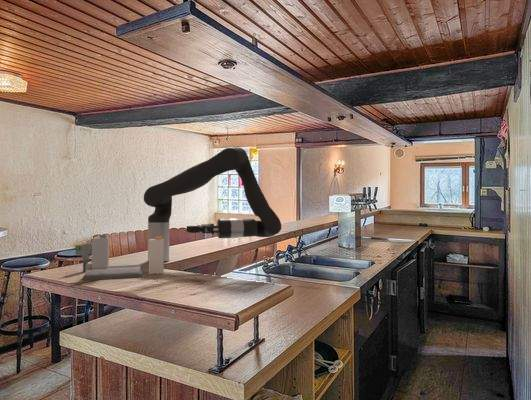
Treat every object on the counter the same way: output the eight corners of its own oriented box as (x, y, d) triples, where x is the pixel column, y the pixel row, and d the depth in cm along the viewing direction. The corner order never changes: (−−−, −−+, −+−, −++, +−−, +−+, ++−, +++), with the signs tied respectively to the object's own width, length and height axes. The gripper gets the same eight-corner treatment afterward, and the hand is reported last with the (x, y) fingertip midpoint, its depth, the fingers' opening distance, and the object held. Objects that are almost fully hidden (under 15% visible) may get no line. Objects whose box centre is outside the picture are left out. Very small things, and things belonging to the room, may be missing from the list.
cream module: (148, 271, 140) (149, 236, 141) (163, 271, 142) (163, 236, 142) (149, 273, 136) (149, 237, 137) (163, 273, 138) (163, 237, 138)
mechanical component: (96, 269, 147) (96, 243, 147) (81, 273, 137) (81, 245, 137) (89, 269, 147) (89, 243, 148) (73, 273, 137) (73, 245, 137)
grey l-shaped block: (88, 274, 135) (88, 234, 135) (141, 271, 140) (142, 233, 141) (83, 280, 124) (83, 236, 124) (141, 277, 129) (142, 235, 129)
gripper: (226, 218, 155) (185, 219, 150) (234, 218, 141) (189, 219, 136) (226, 237, 154) (185, 238, 149) (234, 239, 141) (190, 240, 136)
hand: (187, 229), depth 143 cm, fingers open, 8 cm apart
